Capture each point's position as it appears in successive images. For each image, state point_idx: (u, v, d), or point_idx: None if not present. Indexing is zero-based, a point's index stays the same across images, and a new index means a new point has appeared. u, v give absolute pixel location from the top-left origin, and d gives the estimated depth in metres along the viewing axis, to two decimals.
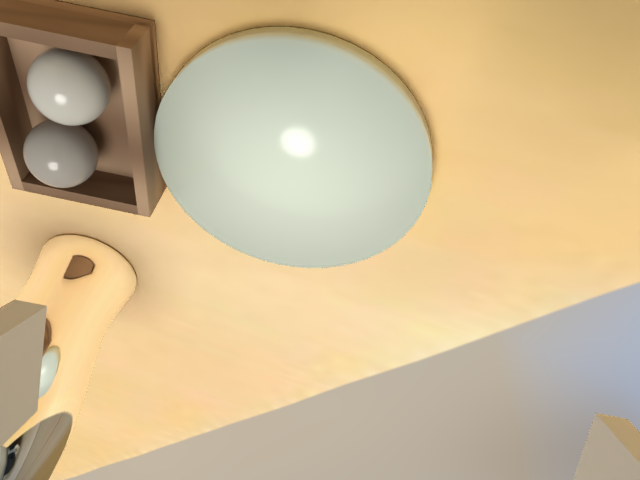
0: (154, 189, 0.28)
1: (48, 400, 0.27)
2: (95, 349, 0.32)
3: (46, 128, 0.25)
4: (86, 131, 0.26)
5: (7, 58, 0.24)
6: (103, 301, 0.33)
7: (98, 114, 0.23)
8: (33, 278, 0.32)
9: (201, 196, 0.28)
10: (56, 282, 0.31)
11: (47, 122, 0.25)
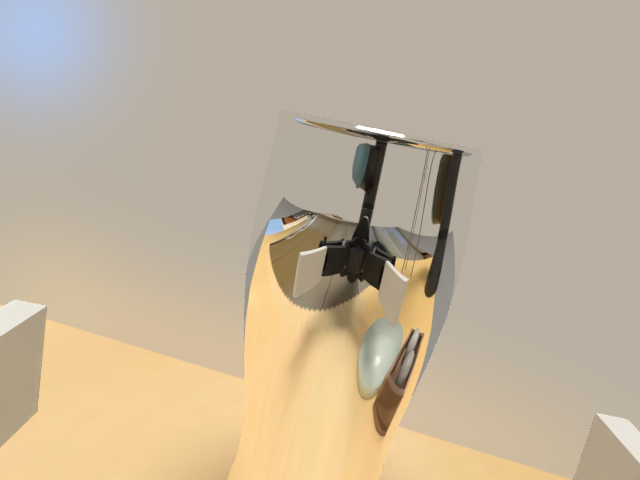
0: None
1: (421, 320, 0.16)
2: (328, 437, 0.17)
3: None
4: None
5: None
6: None
7: None
8: None
9: None
10: None
11: None
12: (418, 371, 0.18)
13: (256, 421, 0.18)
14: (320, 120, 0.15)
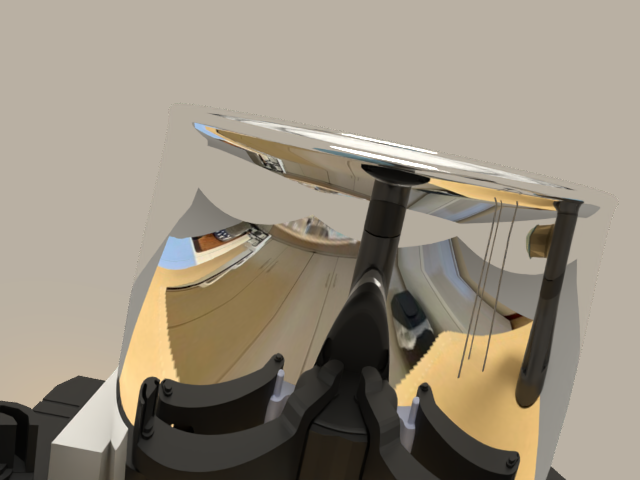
0: None
1: None
2: None
3: None
4: None
5: None
6: None
7: None
8: None
9: None
10: None
11: None
12: None
13: None
14: (238, 125, 0.06)
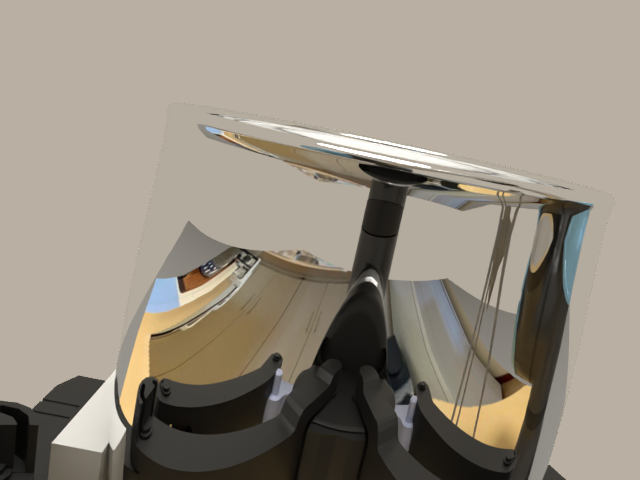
0: None
1: None
2: None
3: None
4: None
5: None
6: None
7: None
8: None
9: None
10: None
11: None
12: None
13: None
14: (235, 125, 0.06)
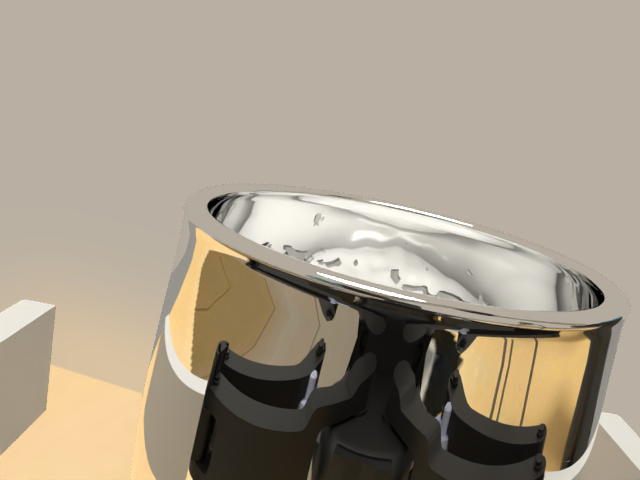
0: None
1: None
2: None
3: None
4: None
5: None
6: None
7: None
8: None
9: None
10: None
11: None
12: None
13: None
14: (255, 252, 0.06)
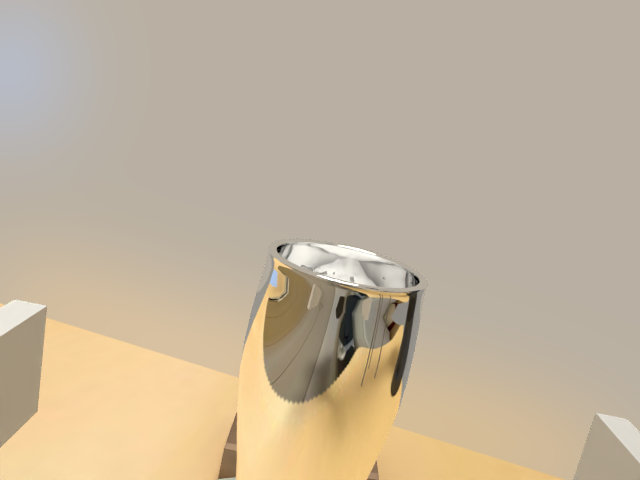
0: None
1: (375, 418, 0.21)
2: None
3: None
4: None
5: None
6: None
7: None
8: None
9: None
10: None
11: None
12: (374, 454, 0.22)
13: None
14: (298, 268, 0.20)
